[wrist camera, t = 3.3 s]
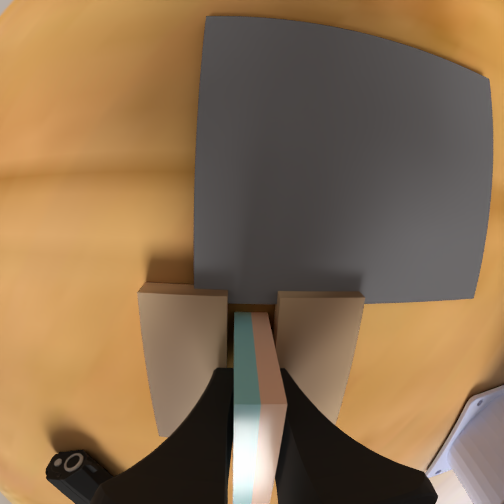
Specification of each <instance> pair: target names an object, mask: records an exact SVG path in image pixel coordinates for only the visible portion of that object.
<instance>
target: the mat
mask: <svg viewBox="0 0 504 504" xmlns="http://www.w3.org/2000/svg"><path fill="white" fill-rule="evenodd" d="M492 172H493V119H492V102H491V91H490V81H489V79H488V78H486V77H484V76H482V75H480V74H478V73H476V72H473V71H471V70H469V69H467V68H465V67H462V66H460V65H458V64H456V63H453V62H451V61H448V60H446V59H443V58H441V57H438V56H436V55H433V54H430V53H428V52H425V51H422V50H419V49H416V48H413V47H410V46H407V45H404V44H401V43H398V42H394V41H391V40H388V39H384V38H380V37H377V36H373V35H369V34H365V33H361V32H356V31H352V30H347V29H343V28H338V27H332V26H327V25H321V24H315V23H308V22H301V21H293V20H284V19H274V18H261V17H242V16H206V22H205V31H204V41H203V51H202V62H201V74H200V87H199V101H198V117H197V135H196V157H195V187H194V289H218V290H228V303H233V304H277V296H278V291H359V292H360V293H361V294H362V295H363V296H364V297H365V302H364V304H375V303H403V302H425V301H442V300H458V299H472V298H474V294H475V290H476V286H477V282H478V277H479V273H480V268H481V263H482V258H483V252H484V246H485V240H486V234H487V227H488V219H489V211H490V201H491V189H492Z"/></svg>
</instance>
